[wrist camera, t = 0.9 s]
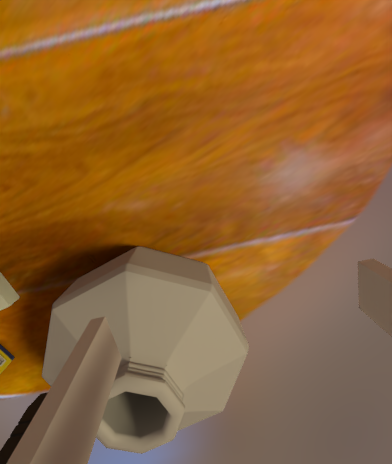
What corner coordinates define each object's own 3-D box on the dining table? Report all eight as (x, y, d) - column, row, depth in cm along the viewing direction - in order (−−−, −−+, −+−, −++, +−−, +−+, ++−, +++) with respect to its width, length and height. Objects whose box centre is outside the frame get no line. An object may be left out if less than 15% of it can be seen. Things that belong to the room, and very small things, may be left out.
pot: (135, 201, 38) (88, 240, 20) (267, 300, 43) (324, 399, 25) (42, 326, 43) (-59, 443, 25) (170, 399, 49) (161, 537, 31)
